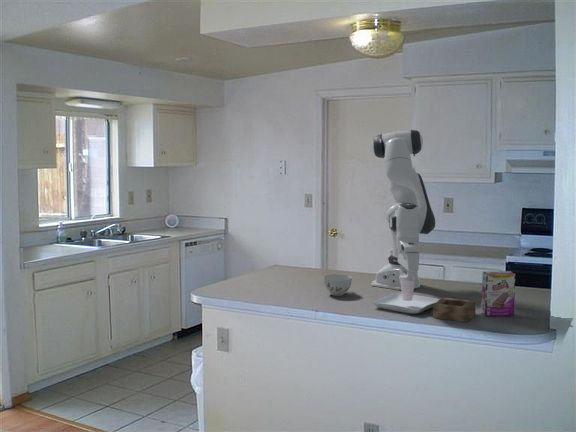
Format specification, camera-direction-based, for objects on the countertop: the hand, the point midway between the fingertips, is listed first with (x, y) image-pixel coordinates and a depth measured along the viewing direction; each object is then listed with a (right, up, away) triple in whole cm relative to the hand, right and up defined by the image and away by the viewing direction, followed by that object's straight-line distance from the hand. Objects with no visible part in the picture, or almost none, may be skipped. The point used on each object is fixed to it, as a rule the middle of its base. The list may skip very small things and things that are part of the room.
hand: (407, 278), depth 242 cm
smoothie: (0, -9, +1) cm, 9 cm away
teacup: (-25, -10, +25) cm, 37 cm away
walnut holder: (+15, -13, -12) cm, 24 cm away
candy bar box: (+32, -13, -12) cm, 36 cm away
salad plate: (0, -12, +1) cm, 12 cm away
